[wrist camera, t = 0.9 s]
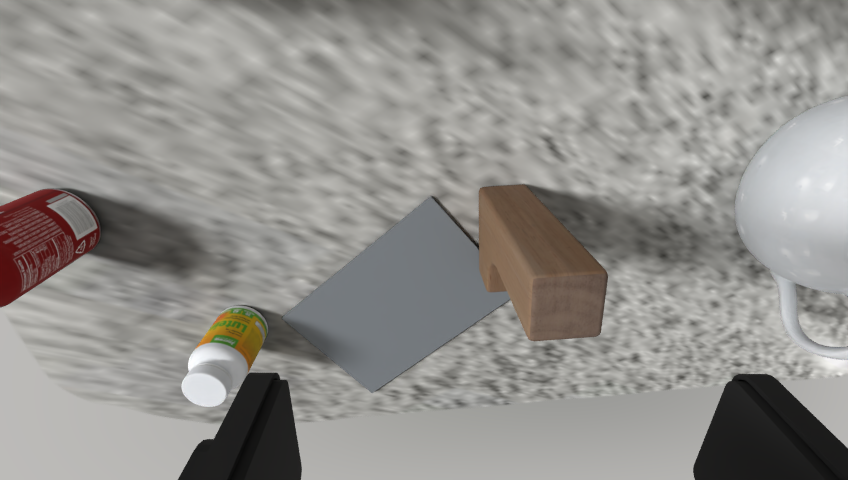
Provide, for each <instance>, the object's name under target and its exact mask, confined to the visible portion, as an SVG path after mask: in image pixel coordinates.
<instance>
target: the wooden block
mask: <svg viewBox="0 0 848 480" xmlns="http://www.w3.org/2000/svg"><path fill="white" fill-rule="evenodd" d="M479 271H480V274H481V277H482V279H483V282H484V285H485V288H486V290H487V291H488V292H505V291H507V292H508V294H509V297H510V299H511V301H512V303H513V306H514V308H515V310H516V312H517V315H518V317H519V319H520V321H521V324H522V326H523V328H524V330H525V333H526V335H527V337H528V339H529V340H531V341H544V340H557V339H571V338H584V337H596V336H598V335H599V334H600V333H601V326H602V319H603V311H604V303H605V296H606V288H607V280H608V275H607V272H606V270H605V269H604V268H603V267H602V266H601V265H600V264H599V263H598V262H597V261H596V259H595V258H594V257H593V256H592V255H591V254H590V253H589V252H588V251H587V250H586V249H585V248H584V247H583V246H582V245H581V244H580V242H579V241H578V240H577V239H576V238H575V237H574V236H573V235H572V234H571V233H570V232H569V231H568V230H567V229H566V228H565V226H564V225H563V224H562V223H561V222H560V221H559V220H558V219H557V218H556V217H555V216H554V215H553V214H552V213H551V212H550V211H549V209H548V208H547V207H546V206H545V205H544V204H543V203H542V202H541V201H540V200H539V199H538V198H537V197H536V196H535V195H534V194H533V192H532V191H531V190H530V189H529V188H528V187H527V186H526V185H523V184H522V185H507V186H492V187H482V188H480V190H479Z"/></svg>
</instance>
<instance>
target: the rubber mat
mask: <svg viewBox="0 0 848 480" xmlns="http://www.w3.org/2000/svg"><path fill="white" fill-rule="evenodd" d="M509 299H510V297H509V294H508V292H507V291H505V292H488V291H487V290H486V288H485V285H484V282H483V279H482V277H481V274H480V271H479V248H478V247H477V246H476V245H475V244H474V243H473V242H472V241H471V239H470V238H469V237H468V236H467V235H466V234H465V233H464V232H463V231H462V229H461V228H460V227H459V226H458V225H457V224H456V223H455V222H454V221H453V219H452V218H451V217H450V216H449V215H448V214H447V213H446V212H445V211H444V209H443V208H442V207H441V206H440V205H439V204H438V203H437V202H436V201H435V200H434V198H433V197H432V196H431V197H429V198H428V199H427V200H426V201H424V202H423V203H422V204H421V205H419V206H418V207H417V208H416V209H415V210H413V211H412V212H411V213H410V214H408V215H407V216H406V217H405V218H403V219H402V220H401V221H400V222H399V223H397V224H396V225H395V226H394V227H392V228H391V229H390V230H389V231H387V232H386V233H385V234H384V235H383V236H381V237H380V238H379V239H378V240H376V241H375V242H374V243H373V244H371V245H370V246H369V247H368V248H366V249H365V250H364V251H363V252H362V253H360V254H359V255H358V256H357V257H355V258H354V259H353V260H352V261H350V262H349V263H348V264H347V265H346V266H344V267H343V268H342V269H341V270H339V271H338V272H337V273H336V274H334V275H333V276H332V277H331V278H330V279H328V280H327V281H326V282H325V283H323V284H322V285H321V286H320V287H318V288H317V289H316V290H315V291H313V292H312V293H311V294H310V295H309V296H307V297H306V298H305V299H304V300H302V301H301V302H300V303H299V304H297V305H296V306H295V307H294V308H293V309H291V310H290V311H289V312H288V313H286V314H285V315H284V316H283V317H282V319H283V320H284V321H285V322H286V323H287V324H289V325H290V326H291V327H292V328H294V329H295V330H296V331H297V332H298V333H300V334H301V335H302V336H303V337H304V338H306V339H307V340H308V341H309V342H311V343H312V344H313V345H314V346H315V347H317V348H318V349H319V350H320V351H321V352H323V353H324V354H325V355H326V356H328V357H329V358H330V359H331V360H332V361H334V362H335V363H336V364H337V365H338V366H340V367H341V368H342V369H343V370H345V371H346V372H347V373H348V374H349V375H351V376H352V377H353V378H354V379H355V380H357V381H358V382H359V383H360V384H362V385H363V386H364V387H365V388H366V389H368V390H369V391H370V392H371V393H373V392H374V391H376V390H377V389H379V388H380V387H382V386H383V385H385V384H386V383H388V382H389V381H391V380H392V379H394V378H395V377H396V376H398V375H399V374H401V373H402V372H404V371H405V370H407V369H408V368H410V367H411V366H413V365H414V364H416V363H417V362H418V361H420V360H421V359H423V358H424V357H426V356H427V355H429V354H430V353H432V352H433V351H435V350H436V349H438V348H439V347H440V346H442V345H443V344H445V343H446V342H448V341H449V340H451V339H452V338H454V337H455V336H457V335H458V334H460V333H461V332H462V331H464V330H465V329H467V328H468V327H470V326H471V325H473V324H474V323H476V322H477V321H479V320H480V319H482V318H483V317H484V316H486V315H487V314H489V313H490V312H492V311H493V310H495V309H496V308H498V307H499V306H501V305H502V304H504V303H505V302H507V301H508V300H509Z"/></svg>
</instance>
